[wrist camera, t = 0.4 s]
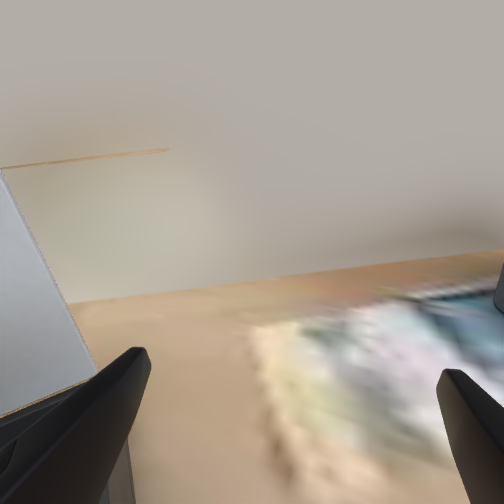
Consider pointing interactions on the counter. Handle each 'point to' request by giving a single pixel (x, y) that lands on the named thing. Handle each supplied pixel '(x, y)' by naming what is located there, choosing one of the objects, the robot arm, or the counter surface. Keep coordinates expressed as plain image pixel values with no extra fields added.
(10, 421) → the dark grey open box
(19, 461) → the robot arm
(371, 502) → the counter surface
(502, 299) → the storage bin
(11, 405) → the grey flat rectangular panel
